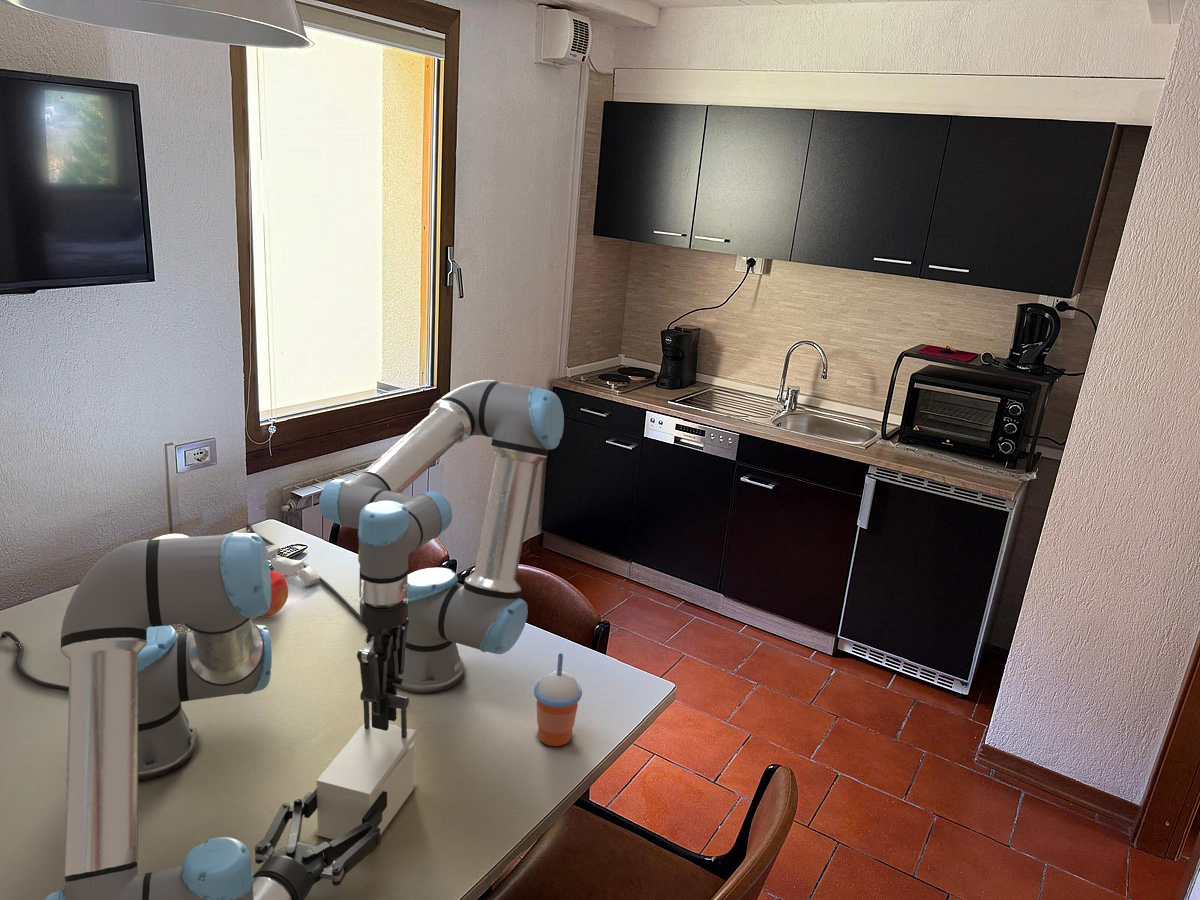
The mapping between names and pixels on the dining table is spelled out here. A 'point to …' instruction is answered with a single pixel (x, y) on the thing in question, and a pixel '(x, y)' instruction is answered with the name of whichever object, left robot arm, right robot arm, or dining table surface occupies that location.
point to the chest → (365, 801)
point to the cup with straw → (557, 705)
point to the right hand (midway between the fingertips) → (384, 722)
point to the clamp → (291, 567)
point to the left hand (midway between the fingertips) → (356, 791)
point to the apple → (277, 593)
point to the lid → (369, 754)
